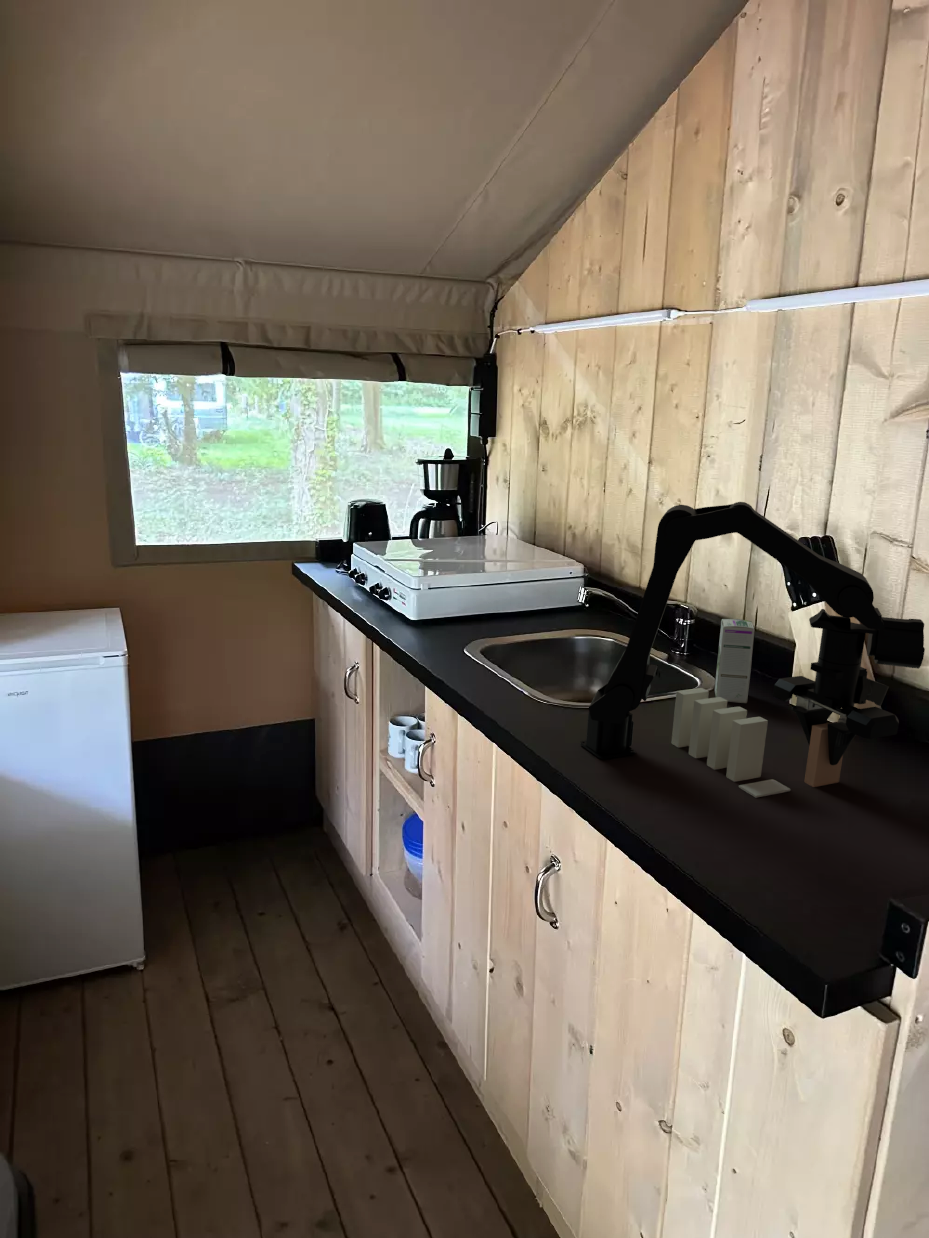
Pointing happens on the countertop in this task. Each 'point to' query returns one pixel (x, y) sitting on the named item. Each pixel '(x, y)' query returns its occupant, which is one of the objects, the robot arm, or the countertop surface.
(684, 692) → the domino
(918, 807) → the countertop surface
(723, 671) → the syrup box
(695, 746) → the domino
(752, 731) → the domino
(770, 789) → the plate
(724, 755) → the domino
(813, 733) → the domino
